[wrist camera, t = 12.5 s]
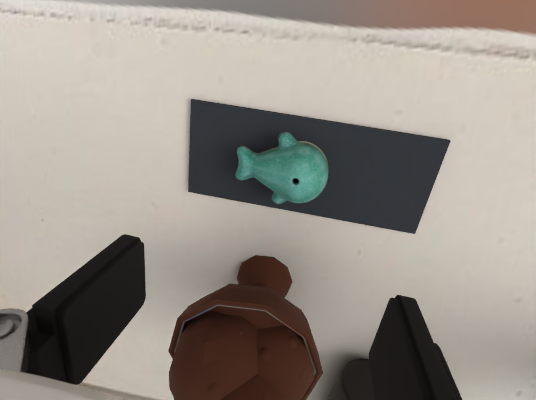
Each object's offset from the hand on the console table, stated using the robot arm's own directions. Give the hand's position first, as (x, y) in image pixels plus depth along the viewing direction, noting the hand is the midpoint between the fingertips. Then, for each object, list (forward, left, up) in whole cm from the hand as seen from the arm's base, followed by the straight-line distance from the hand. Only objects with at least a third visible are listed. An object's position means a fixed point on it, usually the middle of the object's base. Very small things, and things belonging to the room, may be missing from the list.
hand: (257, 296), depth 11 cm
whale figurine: (+1, -1, -15) cm, 15 cm away
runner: (-1, -1, -15) cm, 15 cm away
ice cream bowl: (+1, +11, -16) cm, 19 cm away
